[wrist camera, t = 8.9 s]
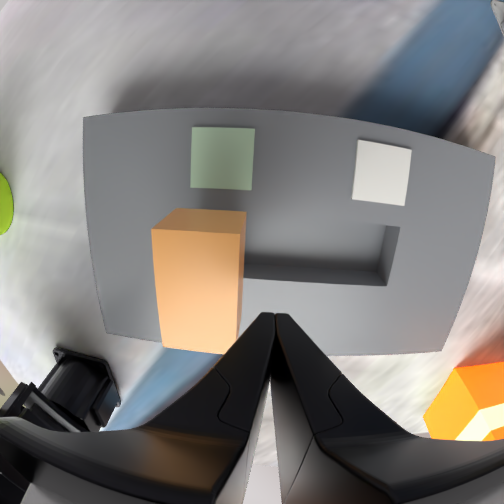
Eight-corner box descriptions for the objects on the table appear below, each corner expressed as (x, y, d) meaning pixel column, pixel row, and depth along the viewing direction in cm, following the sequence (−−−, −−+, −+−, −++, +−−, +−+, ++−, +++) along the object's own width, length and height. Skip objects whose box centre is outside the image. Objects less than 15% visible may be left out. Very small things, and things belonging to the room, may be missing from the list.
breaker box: (122, 310, 21) (105, 334, 18) (108, 118, 16) (81, 117, 13) (426, 328, 21) (442, 352, 18) (469, 151, 15) (497, 157, 12)
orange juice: (454, 366, 22) (533, 531, 4) (505, 360, 22) (581, 486, 4) (421, 417, 25) (468, 565, 7) (473, 408, 25) (526, 528, 6)
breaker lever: (198, 272, 18) (162, 346, 11) (197, 190, 16) (151, 228, 10) (247, 276, 18) (235, 355, 11) (252, 193, 16) (240, 234, 10)
